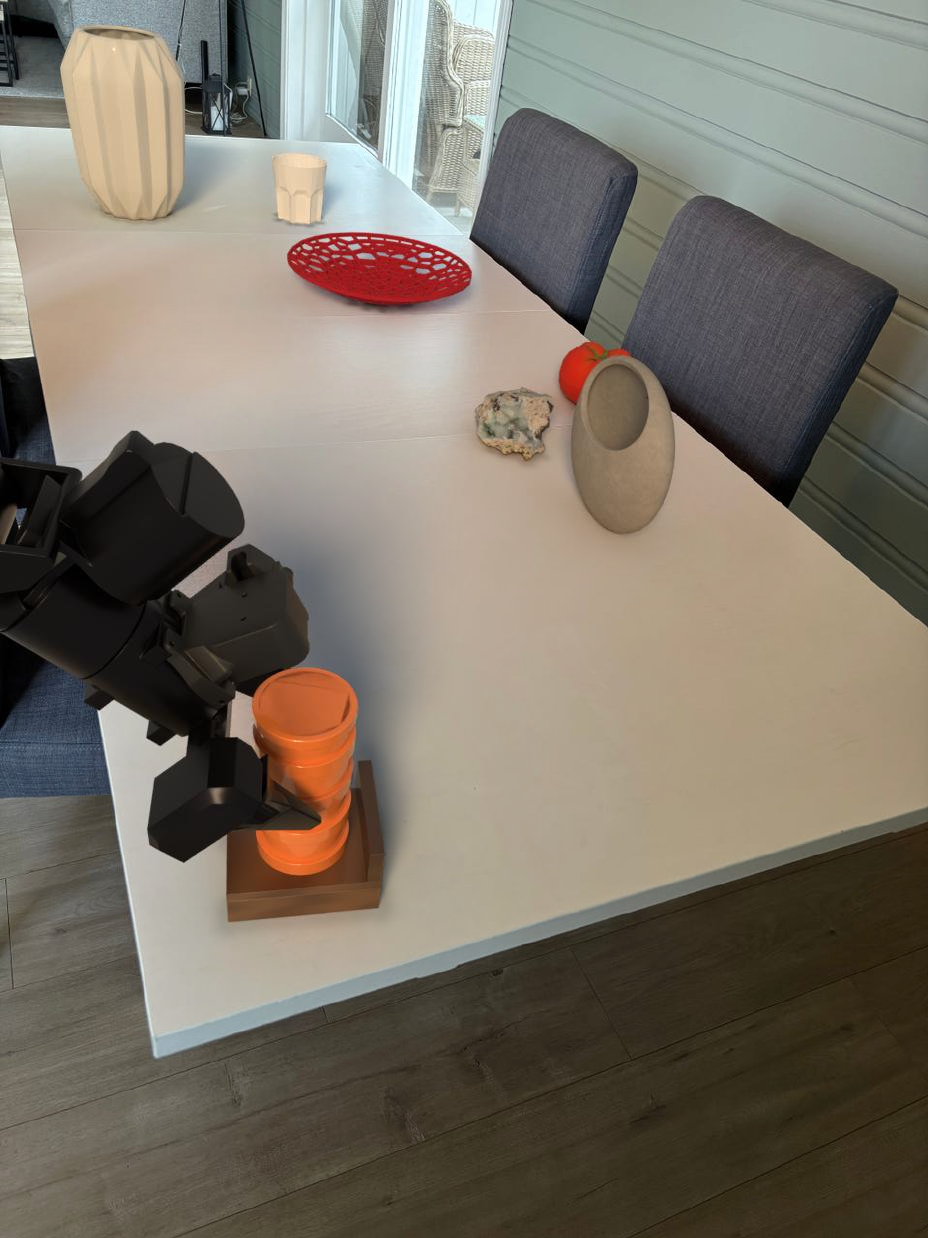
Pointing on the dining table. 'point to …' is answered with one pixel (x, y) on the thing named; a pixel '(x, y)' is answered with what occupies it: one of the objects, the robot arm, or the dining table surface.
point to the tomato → (582, 366)
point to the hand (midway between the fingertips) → (314, 765)
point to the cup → (299, 186)
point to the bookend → (331, 890)
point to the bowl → (379, 269)
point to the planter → (623, 444)
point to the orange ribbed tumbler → (307, 762)
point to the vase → (126, 118)
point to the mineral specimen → (514, 421)
